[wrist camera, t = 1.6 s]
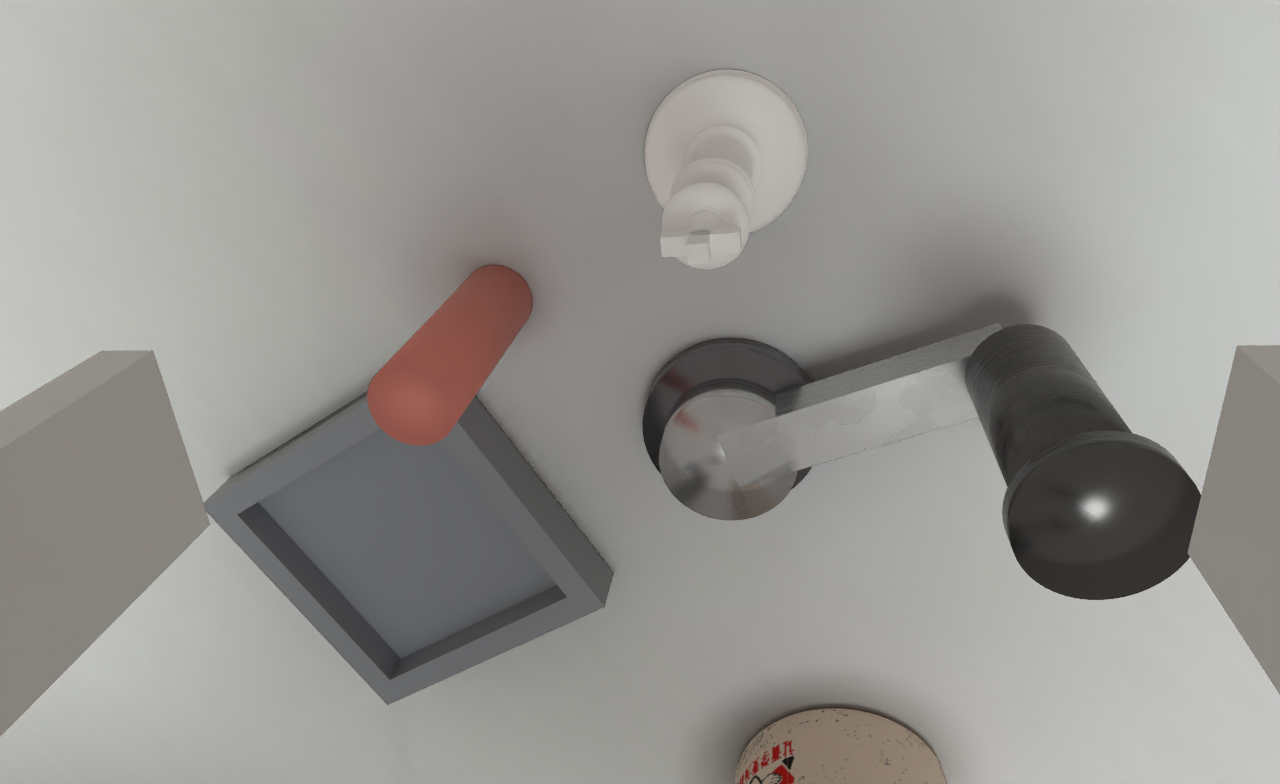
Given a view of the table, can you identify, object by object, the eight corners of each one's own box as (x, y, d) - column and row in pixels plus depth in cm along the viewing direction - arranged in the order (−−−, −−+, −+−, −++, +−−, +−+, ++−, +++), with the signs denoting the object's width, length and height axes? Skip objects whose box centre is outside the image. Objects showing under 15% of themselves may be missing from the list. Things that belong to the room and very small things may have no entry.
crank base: (705, 517, 33) (703, 532, 32) (613, 389, 32) (608, 402, 31) (852, 447, 31) (854, 461, 30) (763, 306, 29) (762, 317, 29)
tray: (405, 670, 39) (387, 705, 37) (229, 477, 36) (200, 505, 34) (613, 573, 35) (604, 606, 33) (437, 347, 32) (416, 371, 30)
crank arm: (694, 508, 32) (662, 710, 23) (643, 402, 30) (589, 578, 22) (1090, 393, 28) (1222, 586, 19) (1055, 264, 26) (1183, 413, 18)
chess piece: (810, 228, 28) (822, 358, 19) (653, 239, 29) (596, 368, 20) (804, 61, 26) (816, 119, 17) (636, 78, 27) (563, 143, 18)
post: (492, 343, 31) (407, 459, 24) (449, 287, 31) (349, 390, 24) (546, 310, 31) (474, 420, 23) (504, 251, 30) (416, 347, 23)
